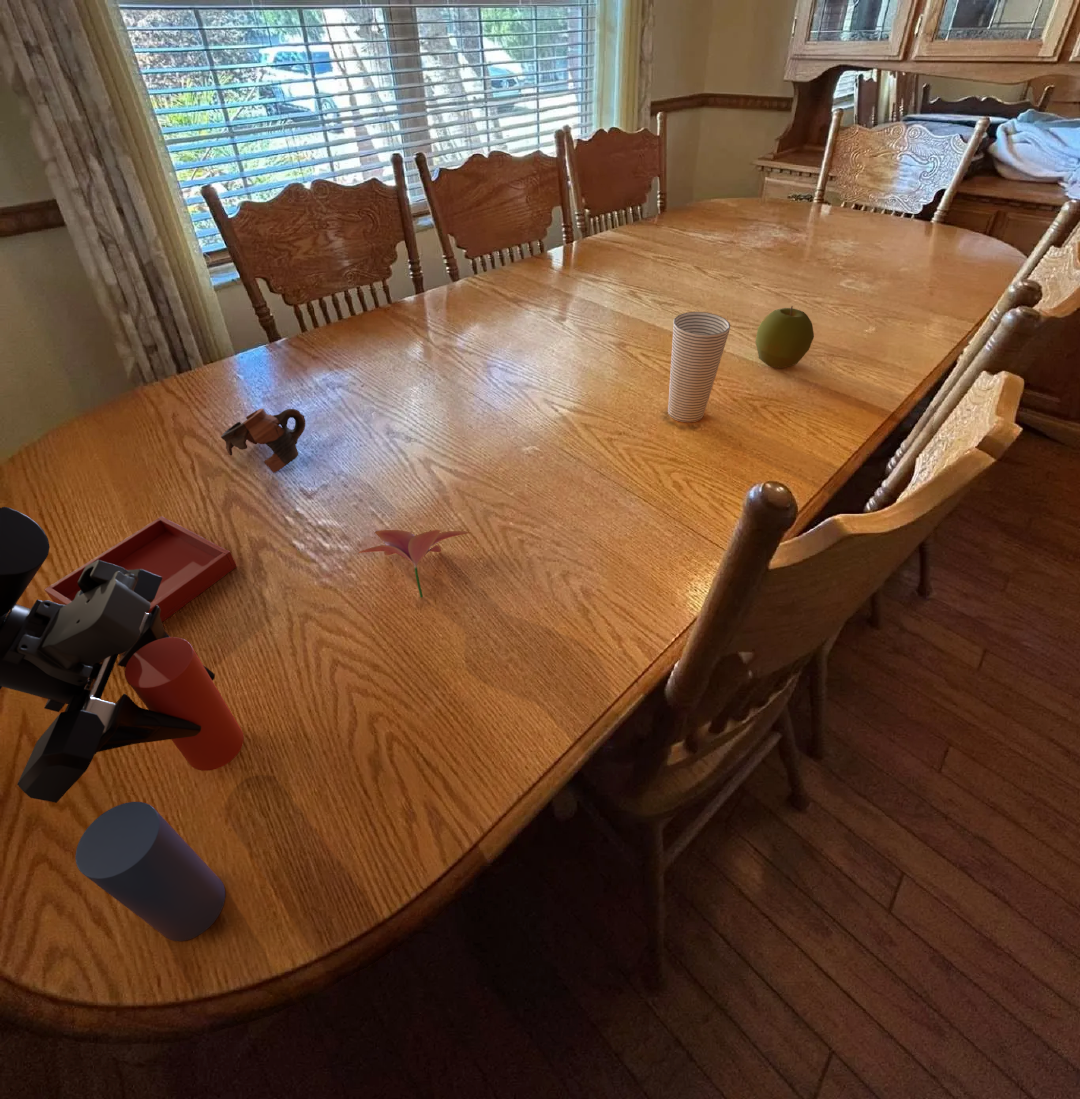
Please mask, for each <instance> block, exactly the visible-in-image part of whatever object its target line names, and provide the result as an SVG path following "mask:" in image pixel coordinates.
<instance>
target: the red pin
mask: <svg viewBox="0 0 1080 1099" xmlns="http://www.w3.org/2000/svg"><path fill="white" fill-rule="evenodd" d="M203 665H204V664H203V662H202V661H201V659H200V657H199V655H198V654H197V653H196V651H195V649H194V647H193V646H192V644H191V643H190V642H189V641H188V640H186V639H184V638H181V637H178V636H177V637H176V636H170V637H168V638H162V639H158V640H155V641H153V642H151V643H149V644H147V645H145V646H143V647H142V648H140V649H139V650H138V651H137V652H136V653H135V654H134V655H133V656H132V657H131V658H130V659H129V661H128V663H127V665H126V667H124V678H125V680H126V682H127V683H128V685H130V687H131V688H132V690H133V691H134V693H135V694H136V695H137V696H138V698H139V699H140V700H141V702H142V703H143V705H145V707H146V709H147V710H151V711H155V712H158V713H162V714H166V715H169V716H173V717H177V718H181V719H184V720H187V721H190V722H192V723H195V724H197V725H200V726H201V727H202V728H201V731H200V732H199V733H198V734H197V735H196V736H192V737H184V738H177V739H170V740H171V741H172V743H173V744H174V745H175V747H176V748H177V749H178V751H179V752H180V754H181V755H182V756H183V757H184V759H185V760H186V761H187V763H188V764H189V765H190V767H192V768H193V769H195V770H197V771H203V772H206V771H214V770H217V769H220V768H222V767H224V766H226V765H228V764H229V763H231V761H233V760H234V759H235V758H236V757H237V755H238V754H239V753H240V751H241V750H242V747H243V745H244V738H245V736H244V732H243V730H242V728H241V727H240V725H239V723H238V722H237V719H236V718H235V716H234V714H233V713H232V712H231V710H230V708H229V706H228V705H227V703H226V700H225V699H224V698H223V696H222V695H221V693H220V691H219V690H218V688H217V685H215V682H214V680H213V681H212V679H211V678H210V676H209V674H208V673H207V671H206V669H205V668H204V666H205V665H204V666H203Z"/></svg>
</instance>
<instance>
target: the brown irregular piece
mask: <svg viewBox="0 0 1080 1099" xmlns="http://www.w3.org/2000/svg"><path fill="white" fill-rule="evenodd" d="M245 418H246V420H245V421H243V422H242V423H241V421H238V422H236V423H234V424H233V425H232V426H230V427H229V428H227V430H225V431H224V432H223V434H221V435H220V438H221V439H222V440H223V441H224V442H225V450H226V452H227V454H228V455H229V456H233V448H234V447H235V448H237V449H239V450H242V451H243V450H247V449H248V445H247V441H248V442H249V443H251V444H253V445H258V444H259V445H266V447H268V448H269V449H271V450H272V451H273V454H272V455H270V456H269V457H268V458H267V459H265V460H264V464H265V465H266V466H267V467H268V468H269V470H270V471H271V472H272V473H273V474H276V472H279V471H280V470H282V469H284V468H285V467H286V466H287V465H289V464H290V463H291V462H293V461H294V460H296V458H298V456H299V451H298V447H297V444H298V441H299V439H300V437H301V436H302V435H303V434H304V431H305V429H306V418H305V415H304V414H303V413H301V411H300V410H298V409H295V408H288V409H285V410H283V411H281V412H280V413H278V414H273V415H272V414H268V413H267V412H266V411H265V409H264V408H258V409H256V410H255V411H253V412H252V413H250V414H248V415H247V416H245ZM291 418H292V419H294V427H293V429H290V427H288V422H289V419H291Z"/></svg>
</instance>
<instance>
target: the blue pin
mask: <svg viewBox="0 0 1080 1099" xmlns="http://www.w3.org/2000/svg"><path fill="white" fill-rule="evenodd" d="M75 864H76V867H77V869H78V871H79V872H80V873H81V874H82V875H83V876H84V877H86V878H87V879H89V880H90V881H91V882H93V883H94V884H95V885H97V886H98V887H99V888H100V889H102V890H103V891H104V892H106V893H107V894H108V895H110V897H112V898H114V899H115V900H116V901H118V902H119V903H120V904H121V905H123V906H124V907H125V908H126V909H128V910H129V911H131V912H132V913H133V914H135V915H136V916H137V917H138V918H140V919H141V920H143V921H144V922H145V923H147V924H148V925H149V926H150V927H151V928H153V929H154V930H156V931H157V932H158V933H160V934H161V936H164V937H165V938H166V939H168V940H170V941H174V942H185V941H189V940H192V939H195V938H196V937H199V936H200V935H202V934H203V933H204V932H206V931H207V930H208V929H209V928H211V926H212V925H213V924H214V923H215V922H216V920H217V919H218V917H219V916H220V914H221V912H222V910H223V907H224V906H225V901H226V889H225V888H226V887H225V885H224V883H223V881H222V880H221V878H220V877H219V876H218V875H217V873H215V872H214V871H213V870H212V869H211V868H210V866H209V865H207V863H206V862H205V861H204V860H203V859H202V858H201V857H200V856H199V855H198V854H197V852H195V850H194V848H192V847H191V846H190V845H189V844H188V843H187V842H186V841H185V840H184V839H183V837H182V836H181V835H180V834H179V833H178V832H177V831H176V830H175V829H174V828H173V827H172V826H171V825H170V824H169V822H168V821H167V820H166V819H165V818H164V817H163V816H162V815H161V814H160V813H159V812H158V810H157V809H156V808H154V807H153V806H152V805H151V804H149V803H146V802H143V801H128V802H125V803H121V804H118V805H115V806H113V807H111V808H109V809H108V810H106V811H104V812H103V813H102V814H100V815H99V816H98V817H97V818H96V819H94V820H93V821H92V822H91V823H90V824H89V826H87V828H86V829H85V831H84V832H83V833H82V835H81V837H80V839H79V841H78V843H77V846H76V849H75Z"/></svg>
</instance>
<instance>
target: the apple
mask: <svg viewBox="0 0 1080 1099" xmlns="http://www.w3.org/2000/svg"><path fill="white" fill-rule="evenodd" d="M814 337H815V333H814V327H813V323H812V321H811V318H810V317H809V316H808V314H807V313H806V312H804V310H803V311H802V310H800V309H797V308H793V305H791V307H782V308H776V309H773V311H771V312H769V313H768V314H767V315H766V316H765V317H764V318H763V319H762V321H761V322H760V324H759V325H758V327H757V330H756V336H755V341H754V342H755V346H756V350H757V355H758V359H759V360H760V361H761V362H763V363H764V364H765V365H767V366H768V367H771V368H776V369H778V368H779V369H780V368H786V367H792V366H794V365H797V364H798V363H799V362H800V361H801V360H802V359H803V357H804V356H806V354H807V353H808V352H809V350H810V348H811V346H812V344H813V340H814Z"/></svg>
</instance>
